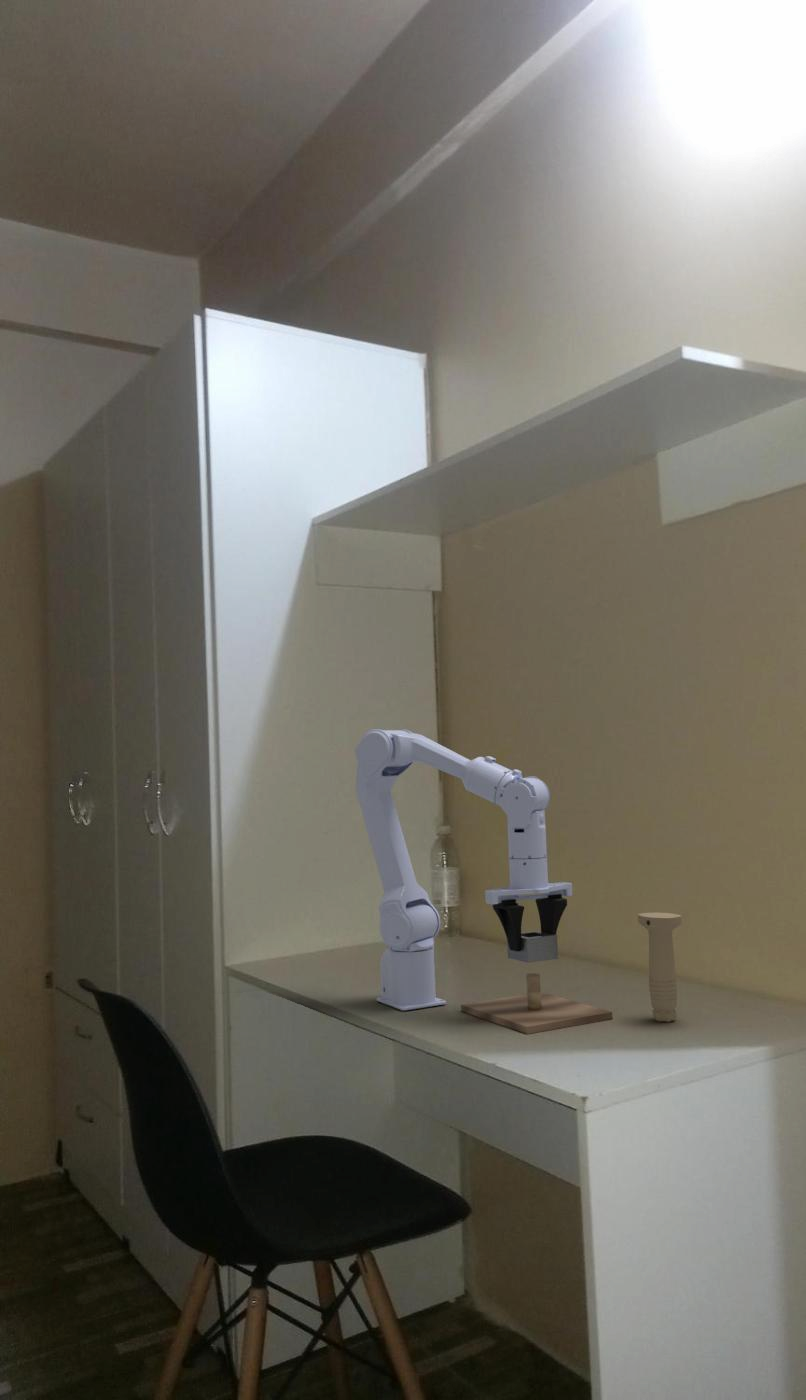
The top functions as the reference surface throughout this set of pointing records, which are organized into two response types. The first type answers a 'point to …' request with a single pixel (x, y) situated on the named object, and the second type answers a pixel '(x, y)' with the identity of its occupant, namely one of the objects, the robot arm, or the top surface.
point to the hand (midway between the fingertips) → (531, 948)
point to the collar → (535, 947)
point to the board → (536, 1010)
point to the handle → (661, 963)
